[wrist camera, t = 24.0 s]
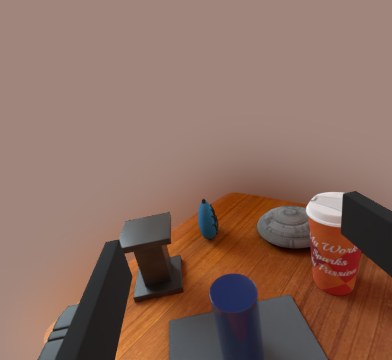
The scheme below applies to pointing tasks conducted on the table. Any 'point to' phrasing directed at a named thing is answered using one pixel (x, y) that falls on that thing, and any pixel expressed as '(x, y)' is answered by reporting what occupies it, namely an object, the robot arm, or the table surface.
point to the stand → (152, 256)
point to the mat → (271, 333)
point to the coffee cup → (331, 246)
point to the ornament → (207, 220)
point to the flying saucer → (286, 227)
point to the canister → (237, 317)
